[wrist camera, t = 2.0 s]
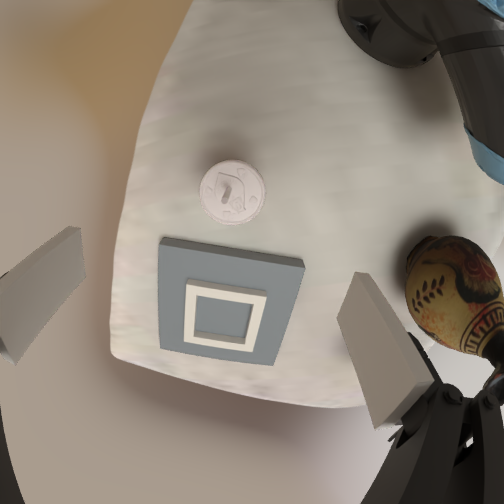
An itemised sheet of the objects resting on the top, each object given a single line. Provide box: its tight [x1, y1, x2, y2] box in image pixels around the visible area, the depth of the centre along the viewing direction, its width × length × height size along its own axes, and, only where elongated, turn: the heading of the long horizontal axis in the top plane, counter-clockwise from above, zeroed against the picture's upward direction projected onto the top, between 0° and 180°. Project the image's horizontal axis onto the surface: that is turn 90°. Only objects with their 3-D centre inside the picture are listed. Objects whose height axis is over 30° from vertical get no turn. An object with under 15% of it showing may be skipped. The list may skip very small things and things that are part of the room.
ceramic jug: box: [405, 236, 504, 406], centre depth 26 cm, size 17×15×30 cm
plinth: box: [158, 237, 305, 366], centre depth 41 cm, size 20×20×4 cm
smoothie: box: [199, 160, 266, 225], centre depth 28 cm, size 6×6×14 cm
